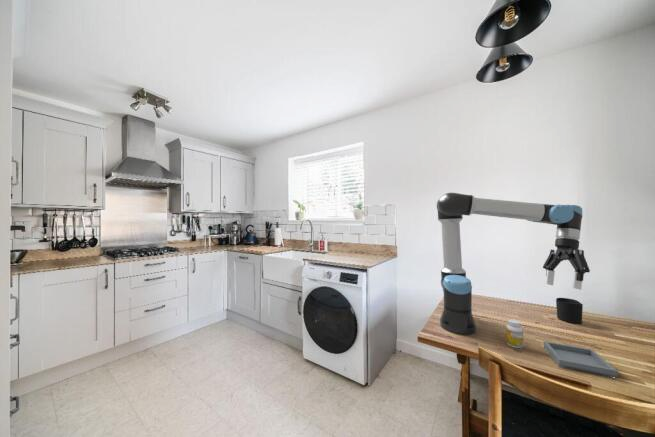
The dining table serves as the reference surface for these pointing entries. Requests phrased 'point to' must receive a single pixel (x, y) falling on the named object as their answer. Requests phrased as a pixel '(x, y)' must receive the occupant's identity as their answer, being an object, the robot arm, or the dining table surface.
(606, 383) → the dining table surface
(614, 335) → the dining table surface
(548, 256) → the robot arm
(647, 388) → the dining table surface
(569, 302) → the pen holder
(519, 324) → the supplement bottle
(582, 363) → the tray
